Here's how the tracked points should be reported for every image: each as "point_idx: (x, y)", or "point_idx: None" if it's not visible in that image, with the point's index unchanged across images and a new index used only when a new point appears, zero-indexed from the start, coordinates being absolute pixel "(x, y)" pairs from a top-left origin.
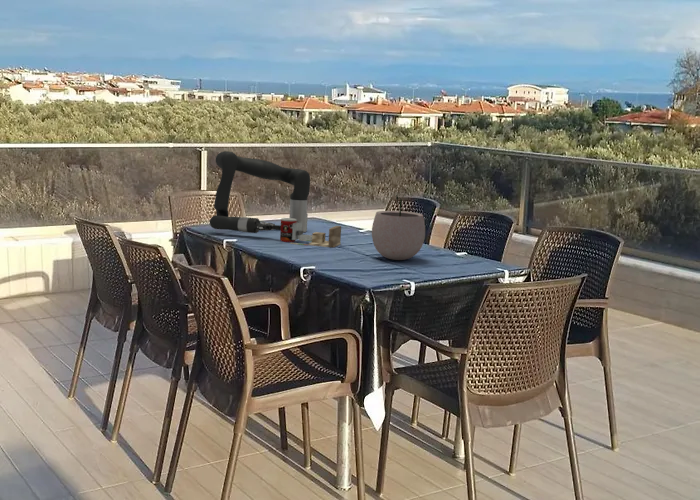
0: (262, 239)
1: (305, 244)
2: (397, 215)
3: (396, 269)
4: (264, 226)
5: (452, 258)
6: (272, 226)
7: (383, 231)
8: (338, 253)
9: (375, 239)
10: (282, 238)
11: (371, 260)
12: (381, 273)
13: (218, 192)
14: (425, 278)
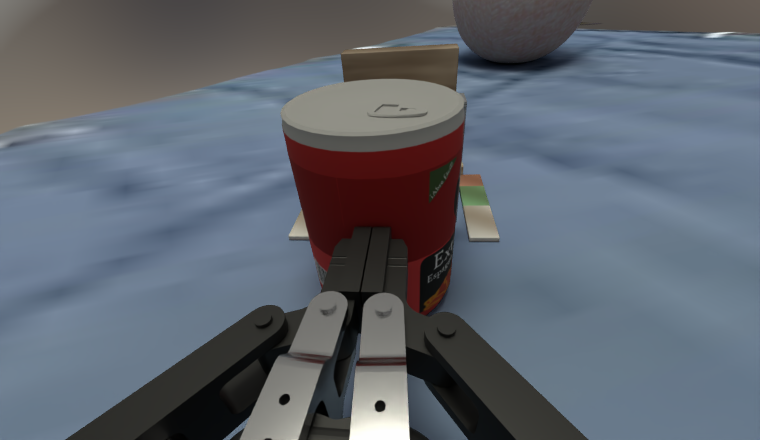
0: None
1: (473, 181)
2: None
3: (628, 49)
4: (548, 414)
5: (422, 45)
6: (410, 310)
7: None
8: (557, 104)
9: (583, 6)
10: (447, 281)
11: (578, 69)
12: (705, 48)
13: None
14: (655, 34)
